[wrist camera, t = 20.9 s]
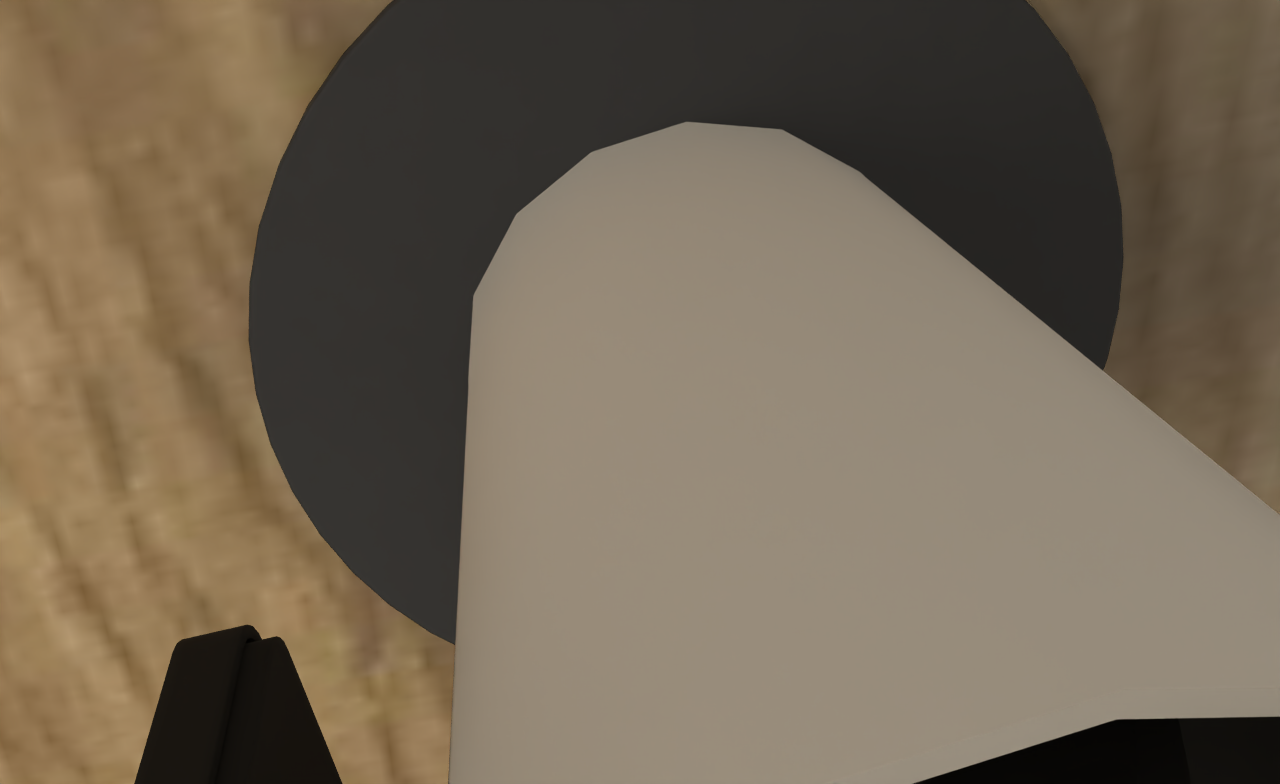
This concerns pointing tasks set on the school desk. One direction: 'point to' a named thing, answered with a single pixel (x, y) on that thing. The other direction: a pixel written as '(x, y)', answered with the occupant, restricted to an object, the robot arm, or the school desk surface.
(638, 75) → the coaster
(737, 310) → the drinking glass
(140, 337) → the school desk surface
